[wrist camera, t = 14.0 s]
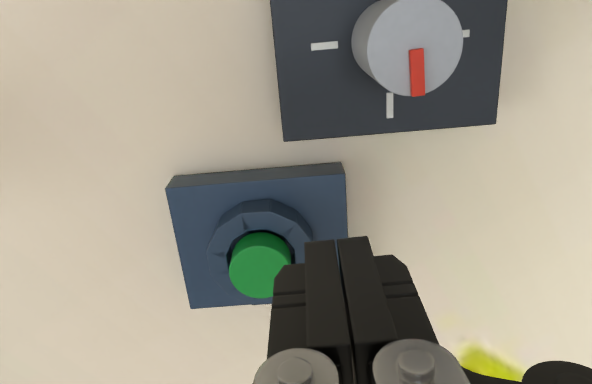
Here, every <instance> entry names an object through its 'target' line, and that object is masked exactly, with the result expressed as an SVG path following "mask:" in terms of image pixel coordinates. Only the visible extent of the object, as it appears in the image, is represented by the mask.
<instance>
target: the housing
mask: <svg viewBox="0 0 592 384" xmlns="http://www.w3.org/2000/svg"><path fill="white" fill-rule="evenodd" d="M165 190H166V195H167V200H168V204H169V209H170V214H171V219H172V223H173V228H174V233H175V237H176V242H177V247H178V252H179V256H180V261H181V266H182V270H183V275H184V280H185V285H186V289H187V294H188V299H189V303H190V308H191V309H197V308H210V307H223V306H236V305H249V304H251V305H259V304H272V297H273V296H272V297H269V298H252V297H249V296H246V295H244V294H243V293H241V292H240V291H238V290H237V289H236V288H235V286H234V285H233V284H232V282H231V280H230V276H229V266H230V261H231V257H232V253H233V249H234V247H235V245H236V244H237V243H238V241H239V240H241V239H242V238H243V237H245V236H247V235H249V234H252V233H257V232H265V233H270V234H273V235H275V236H277V237H279V238H280V239H281V240H283V241H284V242H285V244H286V245H287V246H288V248H289V251H290V254H291V264H299V263H305V251H304V242H312V241H322V240H332V239H334V240H335V247H336V253H337V260H338V250H337V239H342V238H348V229H347V205H346V181H345V172H344V169H343V166H342V163H341V162H338V163H326V164H314V165H302V166H290V167H278V168H266V169H254V170H241V171H229V172H217V173H205V174H193V175H181V176H174V177H173V178H172V179H171V181H170V182H169V184H168V185H167V187H166V188H165ZM338 266H339V262H338Z"/></svg>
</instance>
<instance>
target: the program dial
mask: <svg viewBox="0 0 592 384" xmlns="http://www.w3.org/2000/svg"><path fill="white" fill-rule="evenodd" d="M351 45H352V52H353V55H354V58H355V60H356V62H357V64H358V65H359V66H360V68H361V69H362V70H363V71H364V72H366V73H367V74H368V75H369V76H370V77H372V78H373V79H374V80H375V81H377V82H378V83H379V84H380V85H381V86H383V87H384V88H385V89H387V90H388V91H390V92H392V93H395V94H398V95H403V96H412V97H416V96H422V95H425V93H428V92H430V91H432V90H434V89H436V88H437V87H439V86H440V85H442V84H443V83H444V82H445V81H446V80H447V79H448V78H449V77H450V76H451V74H452V73H453V72H454V70H455V68H456V67H457V64H458V62H459V60H460V57H461V54H462V48H463V32H462V27H461V24H460V21H459V19H458V17H457V15H456V14H455V13H454V11H453V10H452V9H451V8H450V7H449V6H448V5H447V4H446V3H444V2H443V1H441V0H380V1H377V2H375V3H374V4H372V5H370V6H369V7H368V8H367V9H366V10H365V11H364V12H363V13H362V14H361V15H360V17H359V18H358V20H357V22H356V24H355V26H354V29H353V33H352V39H351Z"/></svg>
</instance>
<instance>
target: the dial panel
mask: <svg viewBox="0 0 592 384" xmlns="http://www.w3.org/2000/svg"><path fill="white" fill-rule="evenodd" d="M377 1H380V0H270V6H271V16H272V27H273V37H274V47H275V58H276V68H277V79H278V89H279V99H280V110H281V120H282V131H283V141H284V142H288V141H300V140H312V139H324V138H336V137H348V136H360V135H372V134H384V133H396V132H407V131H419V130H431V129H443V128H455V127H467V126H479V125H491V124H496V118H497V107H498V96H499V86H500V75H501V65H502V54H503V43H504V33H505V22H506V11H507V1H508V0H441V1H443V2H444V3H446V4H447V5H448V6H449V7H450V8H451V9H452V10H453V11H454V13H455V14H456V15H457V17H458V19H459V21H460V24H461V27H462V32H463V48H462V54H461V57H460V60H459V62H458V64H457V67H456V68H455V70H454V72H453V73H452V74H451V76H450V77H449V78H448V79H447V80H446V81H445V82H444V83H443V84H442V85H440V86H439V87H437V88H436V89H434V90H432V91H430V92H428V93H425V95H422V96H416V97H412V96H403V95H398V94H395V93H392V92H390V91H388V90H387V89H385V88H384V87H383V86H381V85H380V84H379V83H378V82H377V81H375V80H374V79H373V78H372V77H370V76H369V75H368V74H367V73H366V72H364V71H363V70H362V69H361V68H360V66H359V65H358V64H357V62H356V60H355V58H354V55H353V52H352V45H351V39H352V33H353V29H354V26H355V24H356V22H357V20H358V18H359V17H360V15H361V14H362V13H363V12H364V11H365V10H366V9H367V8H368V7H369V6H370V5H372V4H374V3H375V2H377Z"/></svg>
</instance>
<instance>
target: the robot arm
mask: <svg viewBox="0 0 592 384" xmlns="http://www.w3.org/2000/svg"><path fill="white" fill-rule="evenodd" d="M337 250H338V260H337V253H336V247H335V240H334V239H332V240H322V241H312V242H304V251H305V263H299V264H288V265H284V266H283V267H282V268H281V270H280V271H279V273H278V274H277V275H276V277H275V278H274V286H273V297H272V309H271V320H270V331H269V342H268V353H267V360H266V361H265V362H264V363H263V364H262V365H261V366H260V367H259V369H258V371H257V372H256V375H255V378H254V382H253V384H592V369H591V368H588V367H586V366H583V365H580V364H576V363H571V362H565V361H547V362H542V363H538V364H536V365H534V366H532V367H531V368H529V369H528V370H527V371H526V373H525V374H524V376H523V379H522V382H518V381H512V380H506V379H501V378H495V377H489V376H485V375H481V374H478V373H475V372H472V371H470V370H467V369H465V368H463V367H462V366H460V364H459V362H458V361H457V359H456V358H455V357H454V356H453V355H452V354H451V353H450V352H449V351H448V350H447V349H445V348H444V347H442V346H440V345H439V343H438V340H437V338H436V336H435V333H434V331H433V328H432V326H431V324H430V321H429V319H428V316H427V314H426V312H425V309H424V307H423V304H422V302H421V300H420V297H419V296H418V292H417V290H416V288H415V285H414V283H413V280H412V278H411V276H410V273H409V271H408V268H407V266H406V265H405V264H403V263H402V262H401V261H400V260H398V259H397V258H396V257H395V256H393V255H383V256H373V253H372V250H371V246H370V243H369V240H368V237H367V236H363V237H352V238H342V239H337ZM338 262H339V266H338Z"/></svg>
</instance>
